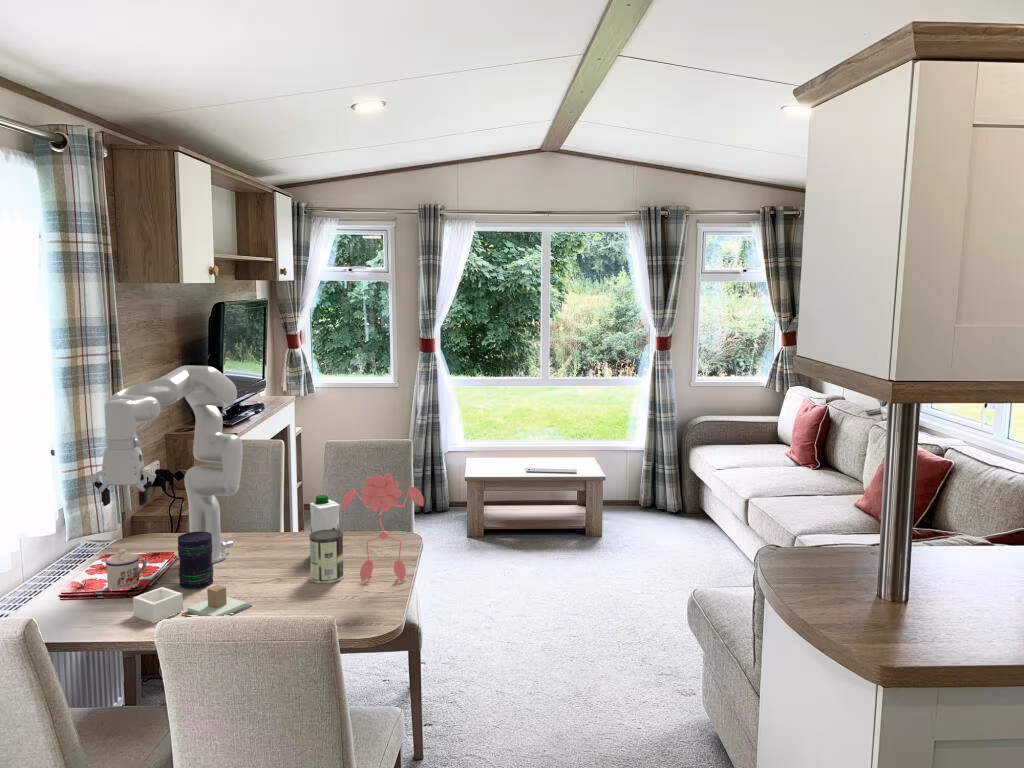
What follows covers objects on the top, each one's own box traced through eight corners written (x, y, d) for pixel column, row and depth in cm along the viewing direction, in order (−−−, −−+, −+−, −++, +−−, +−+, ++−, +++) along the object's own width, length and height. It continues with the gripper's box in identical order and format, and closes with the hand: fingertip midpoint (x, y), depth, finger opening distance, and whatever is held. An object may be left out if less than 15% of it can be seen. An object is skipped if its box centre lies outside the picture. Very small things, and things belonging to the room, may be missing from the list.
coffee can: (331, 569, 251) (330, 527, 250) (350, 577, 244) (349, 534, 243) (303, 577, 244) (302, 534, 242) (322, 586, 237) (321, 541, 235)
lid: (220, 598, 226) (219, 578, 225) (246, 606, 220) (245, 585, 219) (187, 611, 216) (186, 590, 215) (214, 620, 211) (213, 598, 210)
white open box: (162, 605, 222) (162, 586, 221) (183, 612, 217) (182, 593, 217) (133, 616, 214) (132, 597, 213) (154, 623, 210) (153, 604, 209)
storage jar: (175, 582, 239) (173, 535, 237) (208, 575, 245) (206, 529, 243) (184, 592, 231) (182, 543, 229) (218, 585, 237) (216, 537, 235)
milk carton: (331, 548, 271) (330, 493, 268) (343, 556, 264) (342, 498, 261) (308, 554, 265) (306, 497, 263) (319, 561, 258) (318, 503, 256)
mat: (223, 597, 227) (223, 596, 227) (251, 606, 221) (251, 605, 221) (182, 614, 215) (181, 613, 215) (210, 624, 209) (210, 622, 209)
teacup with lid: (118, 595, 228) (116, 557, 227) (100, 588, 233) (98, 551, 231) (155, 582, 238) (153, 545, 237) (137, 576, 243) (135, 540, 242)
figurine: (344, 574, 247) (342, 467, 242) (425, 575, 247) (425, 468, 242) (334, 594, 232) (332, 480, 226) (420, 595, 232) (420, 481, 227)
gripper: (159, 441, 219) (161, 500, 221) (95, 441, 217) (98, 501, 219) (149, 446, 211) (151, 507, 213) (82, 447, 210) (86, 508, 212)
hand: (124, 504), depth 216 cm, fingers open, 9 cm apart
